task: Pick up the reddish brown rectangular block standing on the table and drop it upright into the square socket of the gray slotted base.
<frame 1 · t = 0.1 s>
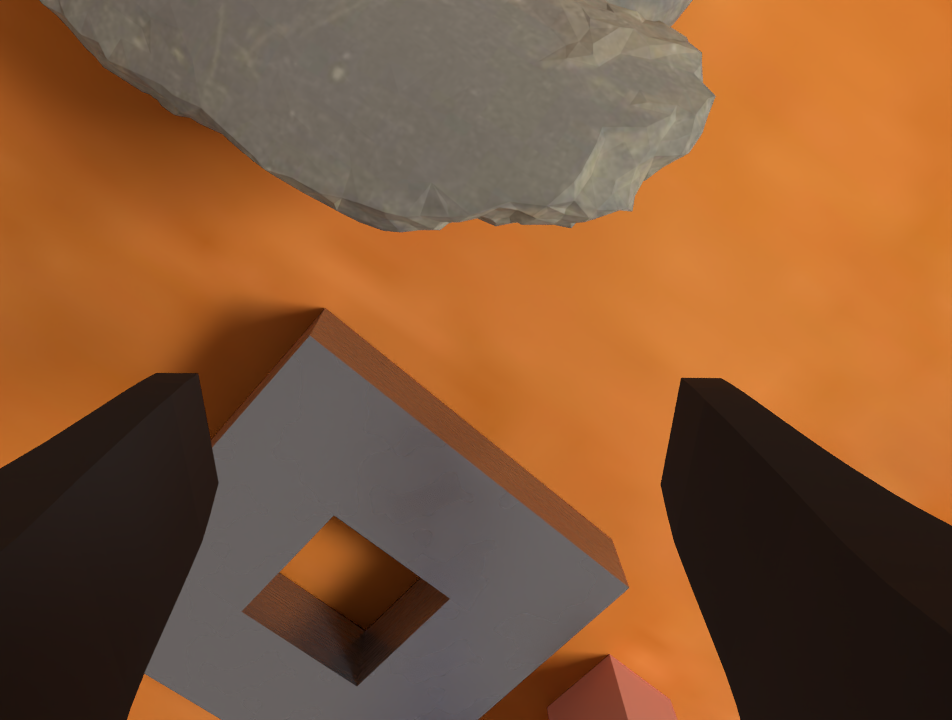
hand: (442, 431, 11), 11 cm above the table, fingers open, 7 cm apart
reddish brown rectangular block: (608, 703, 27), on the table
gray slotted base: (356, 555, 24), on the table
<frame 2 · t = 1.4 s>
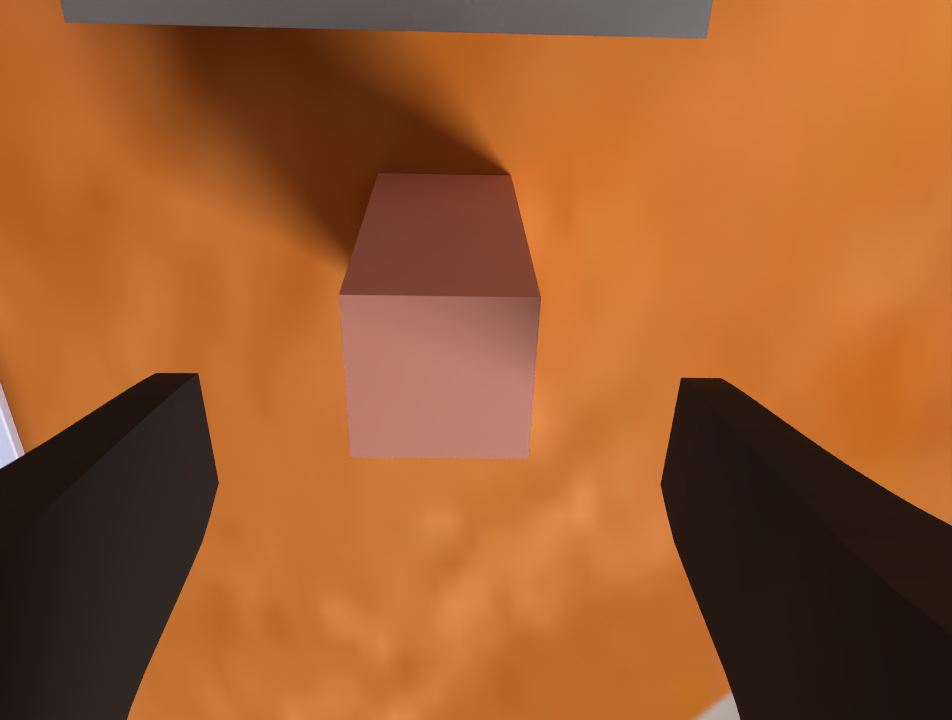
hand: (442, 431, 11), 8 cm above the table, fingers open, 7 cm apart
reddish brown rectangular block: (444, 237, 19), on the table
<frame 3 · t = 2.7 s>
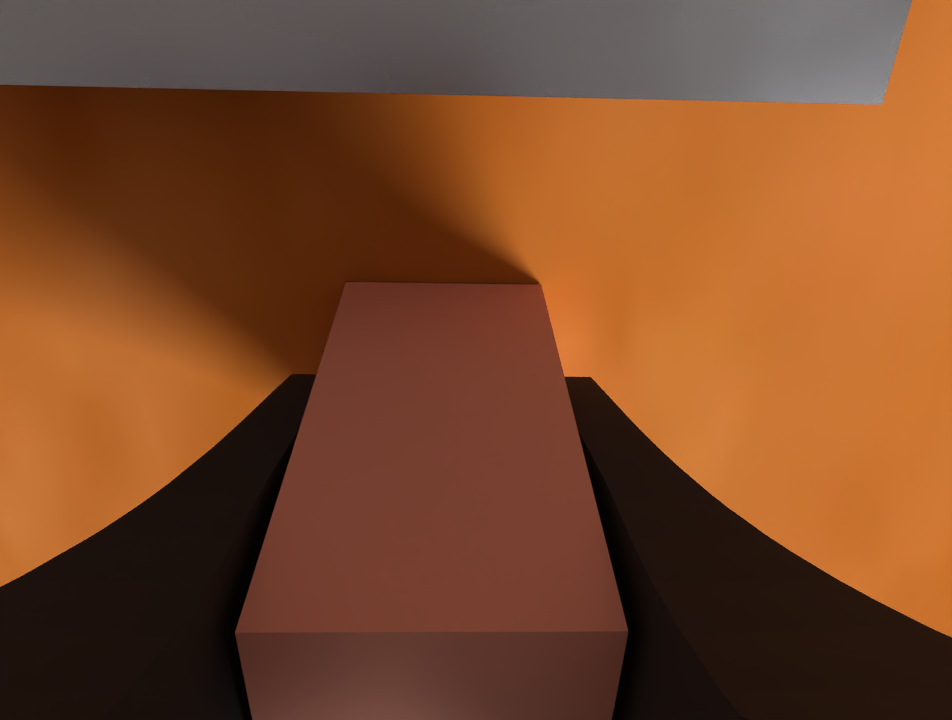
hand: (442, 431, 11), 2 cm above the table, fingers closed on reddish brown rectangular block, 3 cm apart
reddish brown rectangular block: (443, 367, 13), on the table, touching gripper
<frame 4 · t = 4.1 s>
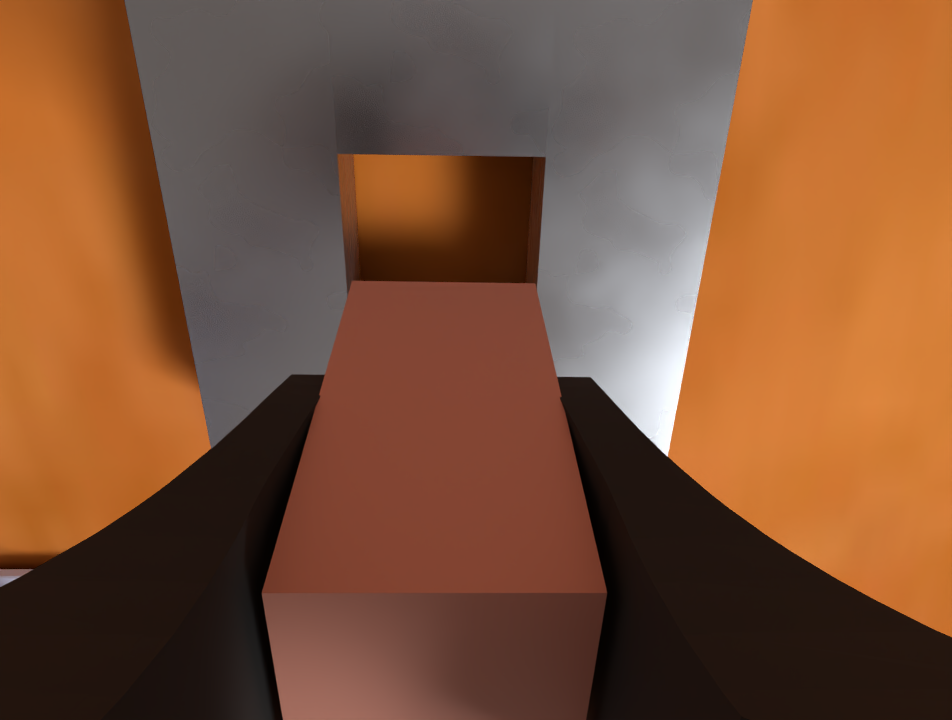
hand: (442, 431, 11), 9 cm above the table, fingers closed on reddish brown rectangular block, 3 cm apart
reddish brown rectangular block: (443, 361, 14), point 6 cm above the table, touching gripper
gray slotted base: (443, 217, 19), on the table
when the fingers open (3 cm above the table, at t = 5.5 s): reddish brown rectangular block stays where it is, resting in gray slotted base.
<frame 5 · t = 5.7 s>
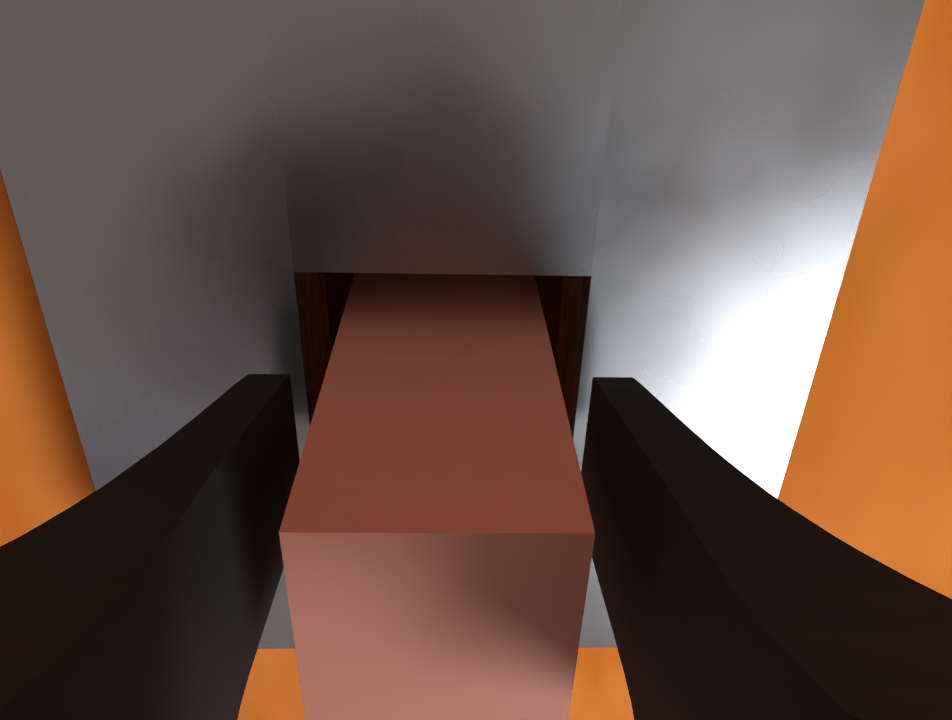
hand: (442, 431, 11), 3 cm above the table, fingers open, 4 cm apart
reddish brown rectangular block: (444, 341, 14), resting in gray slotted base
gray slotted base: (444, 328, 14), on the table
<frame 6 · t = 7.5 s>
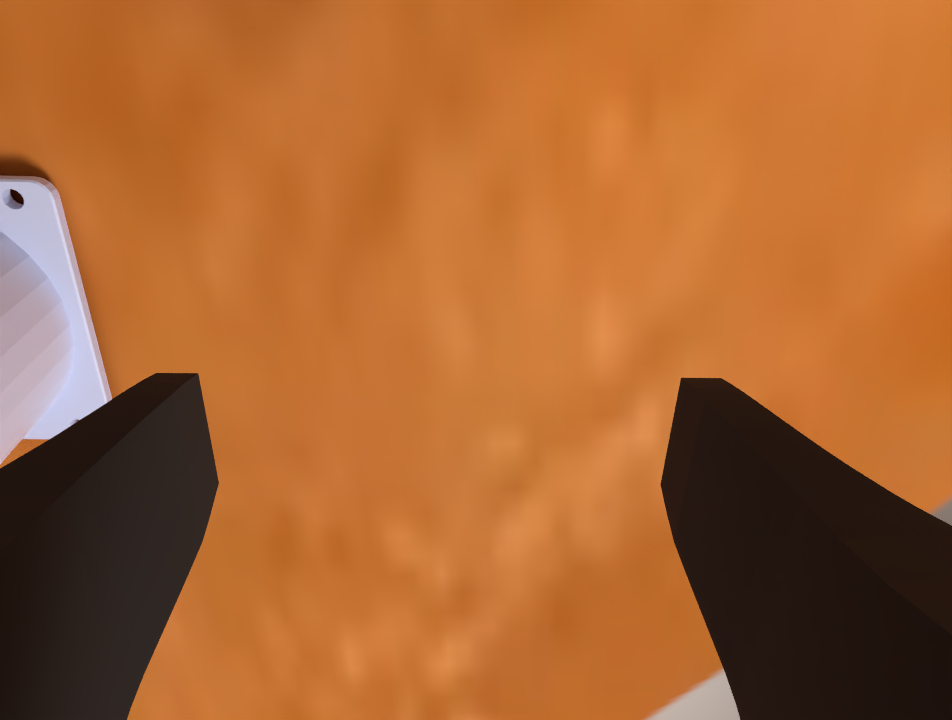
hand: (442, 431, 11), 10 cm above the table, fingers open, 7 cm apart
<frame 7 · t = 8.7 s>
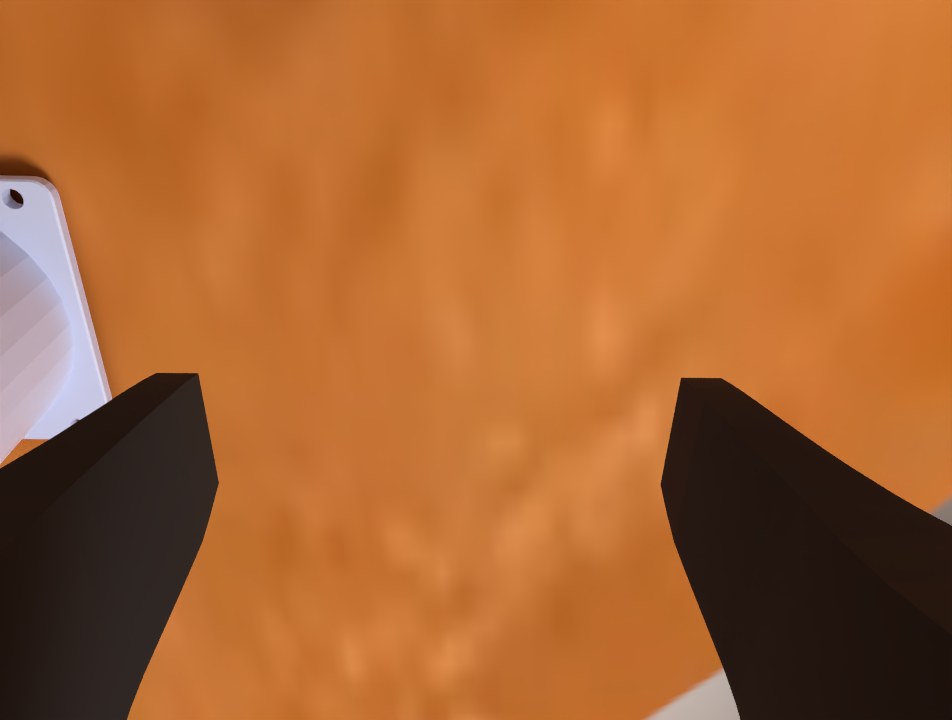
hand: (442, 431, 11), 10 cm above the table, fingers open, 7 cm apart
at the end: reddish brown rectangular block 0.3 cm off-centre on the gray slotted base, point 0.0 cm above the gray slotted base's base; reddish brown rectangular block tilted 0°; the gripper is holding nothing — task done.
